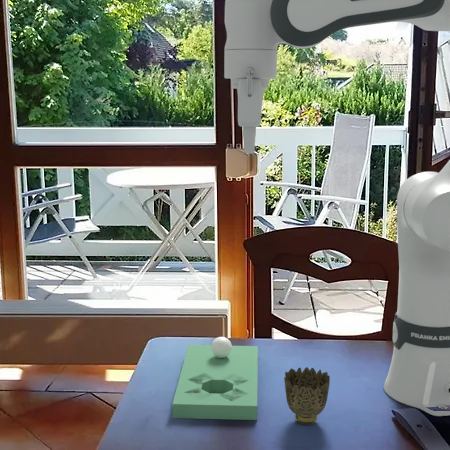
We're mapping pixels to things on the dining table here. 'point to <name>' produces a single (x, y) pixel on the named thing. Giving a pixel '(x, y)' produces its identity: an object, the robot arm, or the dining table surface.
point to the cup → (306, 393)
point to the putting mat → (218, 384)
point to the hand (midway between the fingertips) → (249, 150)
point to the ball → (221, 347)
